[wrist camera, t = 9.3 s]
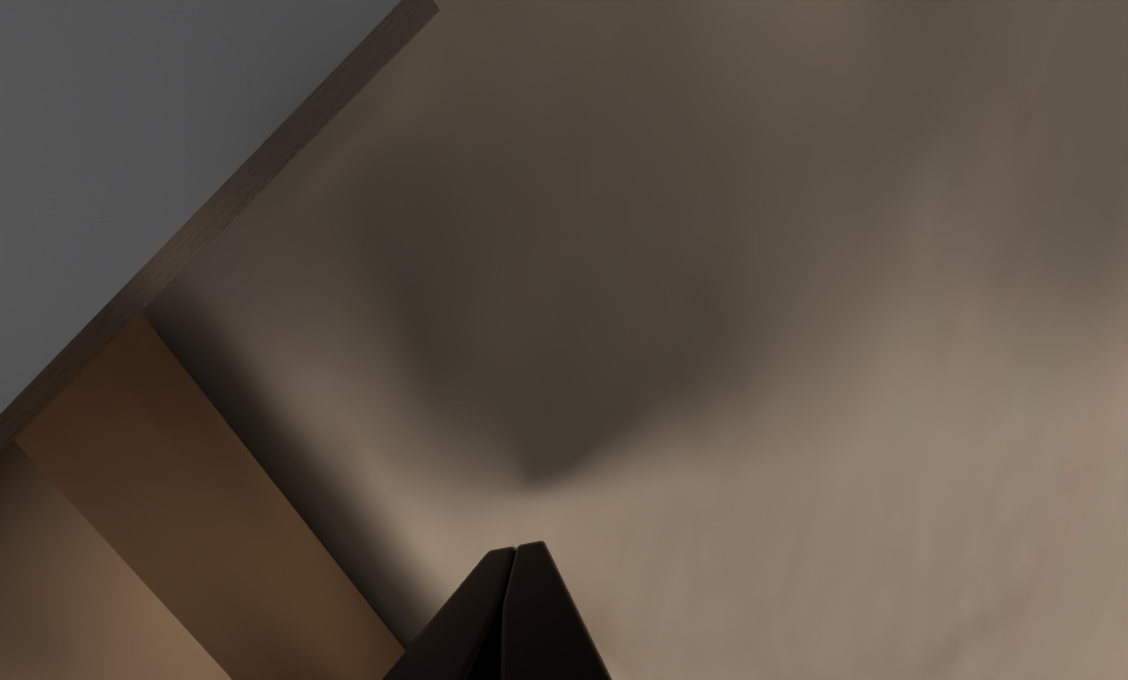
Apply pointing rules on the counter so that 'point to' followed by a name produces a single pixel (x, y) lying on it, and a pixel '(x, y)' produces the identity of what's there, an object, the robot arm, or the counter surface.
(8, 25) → the grey flat bar piece
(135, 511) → the tan wooden bar
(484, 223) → the counter surface
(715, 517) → the counter surface
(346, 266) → the counter surface
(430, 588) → the counter surface
